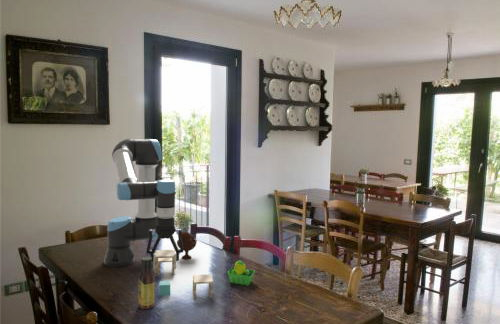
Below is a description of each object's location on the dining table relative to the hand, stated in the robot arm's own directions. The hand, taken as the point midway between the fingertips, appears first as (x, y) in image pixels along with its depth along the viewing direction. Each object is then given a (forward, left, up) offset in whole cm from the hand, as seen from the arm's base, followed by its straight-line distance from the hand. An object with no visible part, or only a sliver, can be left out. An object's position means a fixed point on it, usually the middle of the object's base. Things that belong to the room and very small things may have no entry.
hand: (164, 268), depth 163 cm
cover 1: (0, 0, 0) cm, 0 cm away
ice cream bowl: (-30, +34, -11) cm, 46 cm away
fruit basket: (+14, +32, -11) cm, 37 cm away
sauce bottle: (+6, -13, -11) cm, 18 cm away
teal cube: (0, 0, -11) cm, 11 cm away
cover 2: (-20, +14, -11) cm, 26 cm away
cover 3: (+12, +11, -11) cm, 20 cm away
